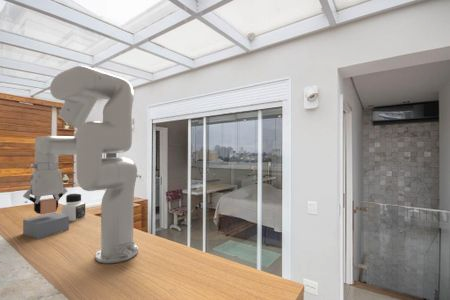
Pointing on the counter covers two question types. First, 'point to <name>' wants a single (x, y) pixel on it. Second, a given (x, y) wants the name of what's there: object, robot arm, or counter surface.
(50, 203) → the terracotta cube
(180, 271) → the counter surface
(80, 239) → the counter surface
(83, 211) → the medicine bottle
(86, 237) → the counter surface
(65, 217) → the grey block
